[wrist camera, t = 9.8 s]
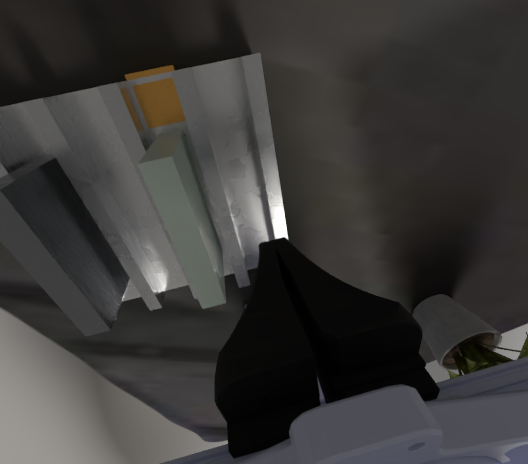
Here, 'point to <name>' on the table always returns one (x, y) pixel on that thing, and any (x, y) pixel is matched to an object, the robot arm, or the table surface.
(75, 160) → the rack
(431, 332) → the house plant
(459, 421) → the robot arm
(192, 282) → the panel
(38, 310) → the table surface
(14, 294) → the table surface
